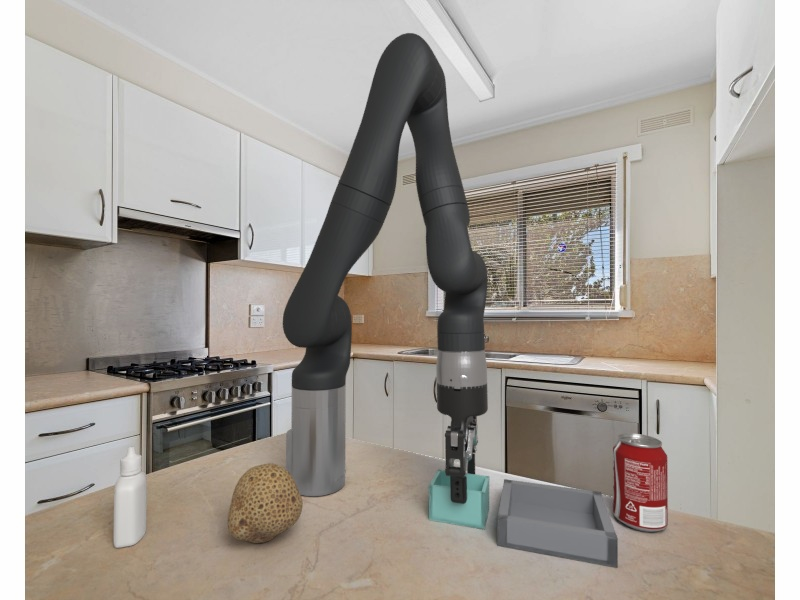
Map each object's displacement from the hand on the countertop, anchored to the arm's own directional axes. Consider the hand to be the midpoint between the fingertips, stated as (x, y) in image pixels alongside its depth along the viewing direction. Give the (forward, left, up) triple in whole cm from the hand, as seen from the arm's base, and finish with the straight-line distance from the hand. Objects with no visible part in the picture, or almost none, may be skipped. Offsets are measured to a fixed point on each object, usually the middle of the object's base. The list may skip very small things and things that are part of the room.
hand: (463, 488), depth 61 cm
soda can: (+24, +6, -4) cm, 25 cm away
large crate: (+12, 0, -4) cm, 13 cm away
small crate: (-1, 0, -4) cm, 4 cm away
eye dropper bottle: (-42, -20, -4) cm, 46 cm away
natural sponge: (-24, -15, -4) cm, 28 cm away
